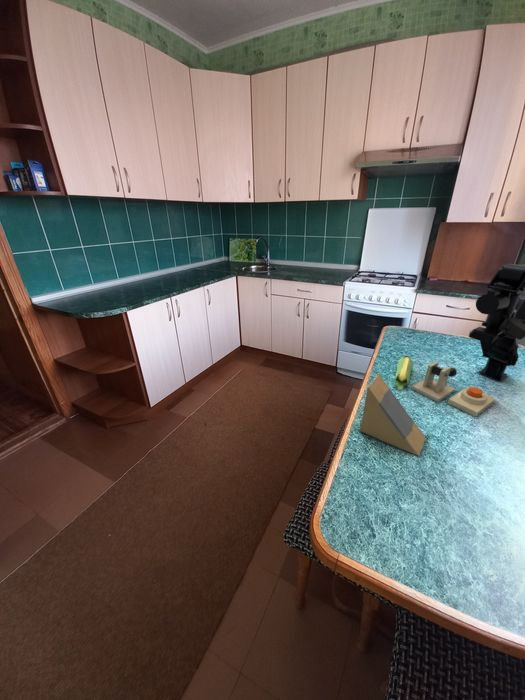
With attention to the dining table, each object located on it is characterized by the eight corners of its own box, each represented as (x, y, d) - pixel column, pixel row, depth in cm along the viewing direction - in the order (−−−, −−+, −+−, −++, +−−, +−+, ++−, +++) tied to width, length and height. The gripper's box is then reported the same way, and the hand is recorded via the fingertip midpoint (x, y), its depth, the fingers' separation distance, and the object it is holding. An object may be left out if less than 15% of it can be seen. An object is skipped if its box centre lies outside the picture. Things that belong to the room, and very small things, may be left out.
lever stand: (427, 379, 103) (434, 356, 99) (454, 391, 96) (462, 367, 92) (411, 388, 98) (417, 365, 94) (437, 402, 92) (445, 377, 87)
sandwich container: (419, 457, 72) (434, 409, 65) (359, 431, 81) (367, 386, 74) (426, 436, 78) (441, 391, 72) (370, 415, 87) (378, 372, 80)
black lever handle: (446, 374, 103) (450, 366, 102) (455, 378, 101) (459, 370, 100) (429, 373, 95) (433, 364, 94) (439, 377, 92) (443, 368, 91)
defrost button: (470, 390, 92) (472, 385, 91) (483, 395, 89) (485, 391, 88) (464, 393, 90) (466, 389, 89) (477, 399, 87) (479, 395, 86)
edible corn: (412, 366, 112) (415, 355, 109) (407, 393, 96) (410, 381, 94) (398, 363, 114) (400, 352, 112) (391, 389, 98) (393, 377, 96)
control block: (466, 390, 97) (469, 381, 95) (493, 402, 91) (497, 393, 89) (447, 403, 91) (450, 394, 89) (475, 417, 85) (479, 407, 83)
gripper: (522, 322, 77) (501, 372, 84) (547, 308, 86) (526, 355, 93) (476, 311, 85) (460, 357, 92) (503, 299, 94) (487, 342, 101)
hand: (484, 353), depth 95 cm, fingers closed
